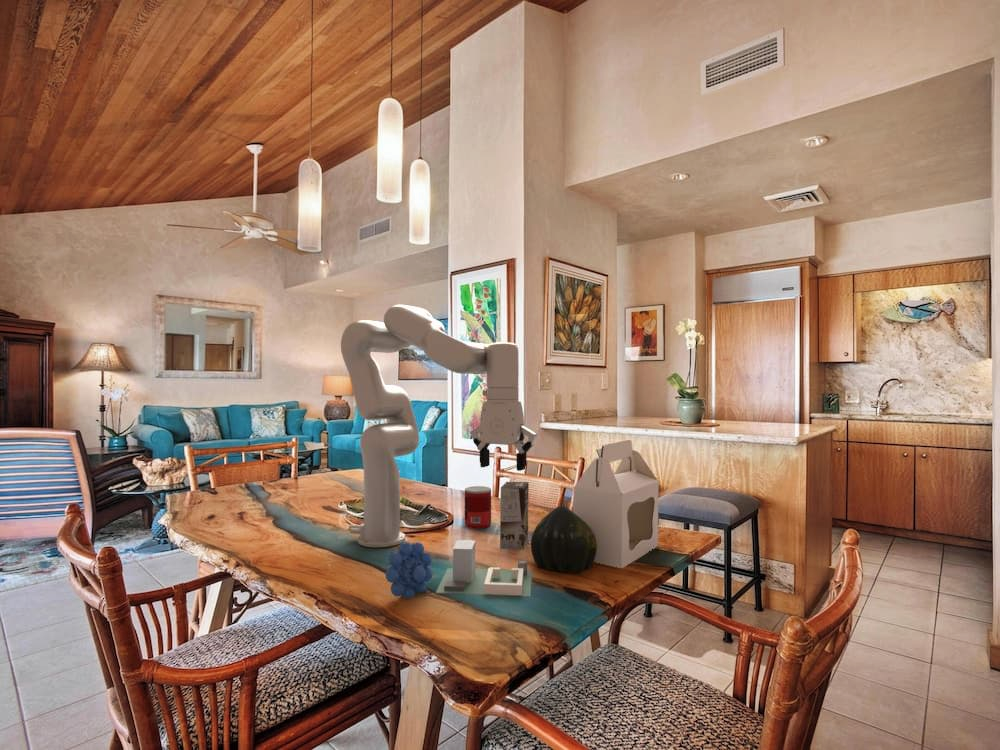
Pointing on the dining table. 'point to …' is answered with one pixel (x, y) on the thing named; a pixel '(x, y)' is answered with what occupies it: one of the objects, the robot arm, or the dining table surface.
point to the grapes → (409, 570)
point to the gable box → (619, 505)
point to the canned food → (477, 507)
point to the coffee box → (514, 515)
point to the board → (479, 580)
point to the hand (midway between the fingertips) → (502, 468)
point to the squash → (563, 542)
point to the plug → (464, 560)
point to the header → (503, 587)
